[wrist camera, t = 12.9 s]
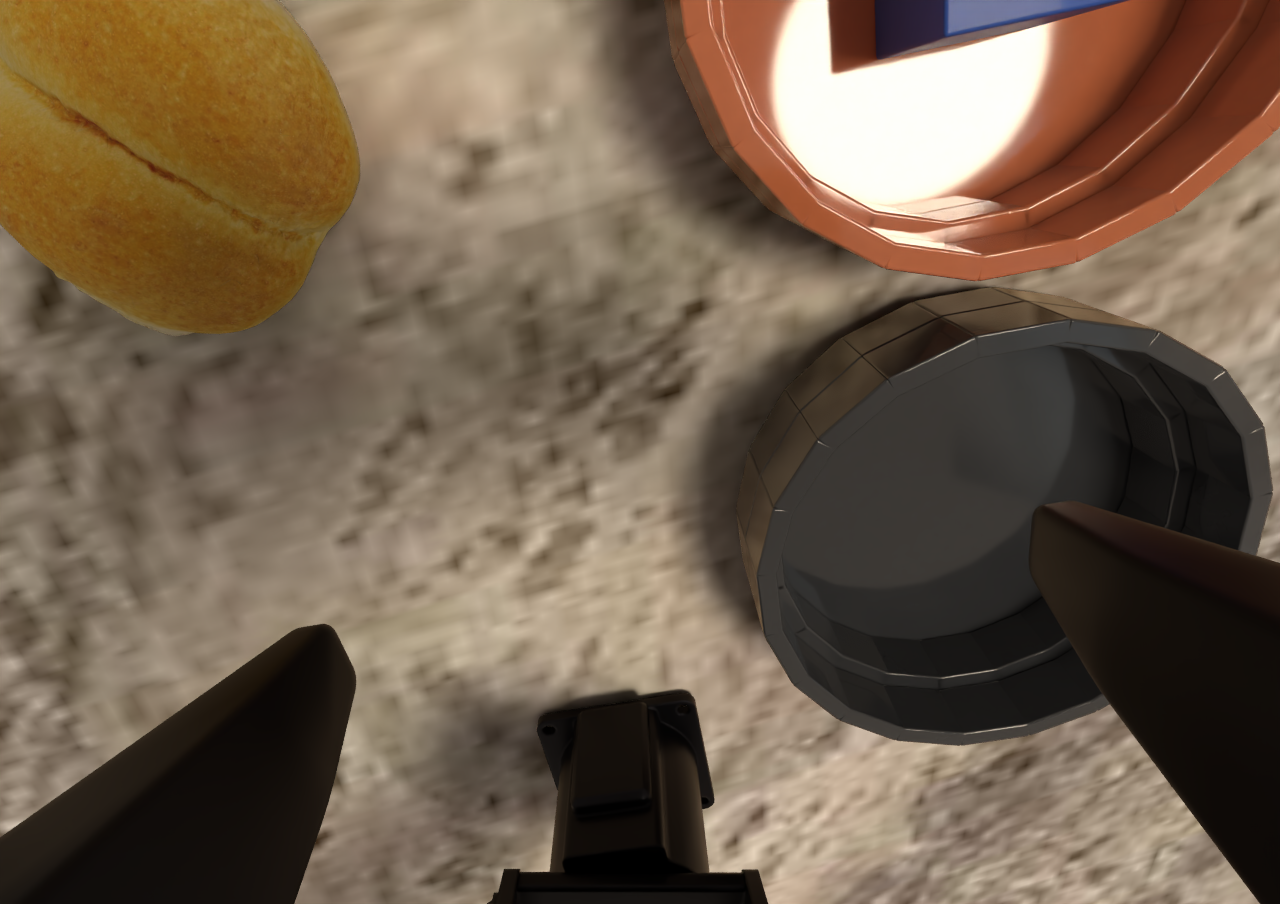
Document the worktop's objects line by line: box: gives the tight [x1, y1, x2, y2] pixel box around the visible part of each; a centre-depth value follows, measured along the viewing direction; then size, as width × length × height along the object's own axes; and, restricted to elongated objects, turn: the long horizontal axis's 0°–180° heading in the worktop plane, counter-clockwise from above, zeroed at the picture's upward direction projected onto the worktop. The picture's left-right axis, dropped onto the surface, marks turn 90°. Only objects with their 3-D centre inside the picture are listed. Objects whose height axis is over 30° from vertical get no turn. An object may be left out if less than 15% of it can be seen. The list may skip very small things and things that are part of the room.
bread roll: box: [0, 0, 360, 336], centre depth 16 cm, size 8×9×4 cm
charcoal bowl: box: [736, 287, 1273, 746], centre depth 21 cm, size 14×14×4 cm
